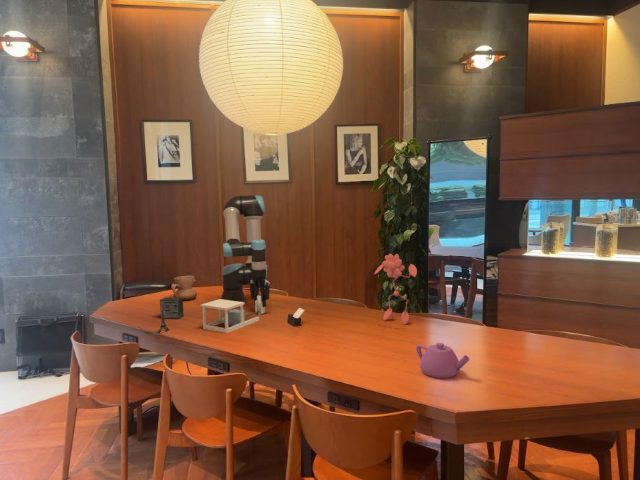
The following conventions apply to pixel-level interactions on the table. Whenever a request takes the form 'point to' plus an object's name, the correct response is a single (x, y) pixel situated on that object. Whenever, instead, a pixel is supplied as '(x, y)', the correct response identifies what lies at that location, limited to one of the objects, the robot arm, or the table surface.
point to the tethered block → (235, 315)
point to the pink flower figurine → (395, 269)
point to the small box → (172, 308)
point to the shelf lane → (225, 306)
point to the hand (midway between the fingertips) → (260, 312)
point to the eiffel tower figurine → (161, 326)
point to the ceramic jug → (184, 288)
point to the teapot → (440, 361)
